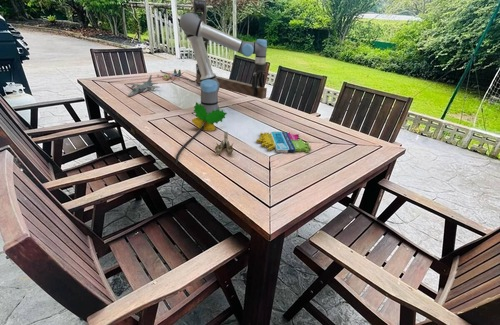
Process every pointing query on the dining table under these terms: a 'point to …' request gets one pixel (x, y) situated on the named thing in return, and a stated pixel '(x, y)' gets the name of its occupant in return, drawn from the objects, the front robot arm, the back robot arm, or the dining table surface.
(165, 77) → the toy
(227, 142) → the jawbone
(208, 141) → the dining table surface
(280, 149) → the pack of gloves
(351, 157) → the dining table surface
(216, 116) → the ornament
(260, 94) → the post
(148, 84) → the airplane
